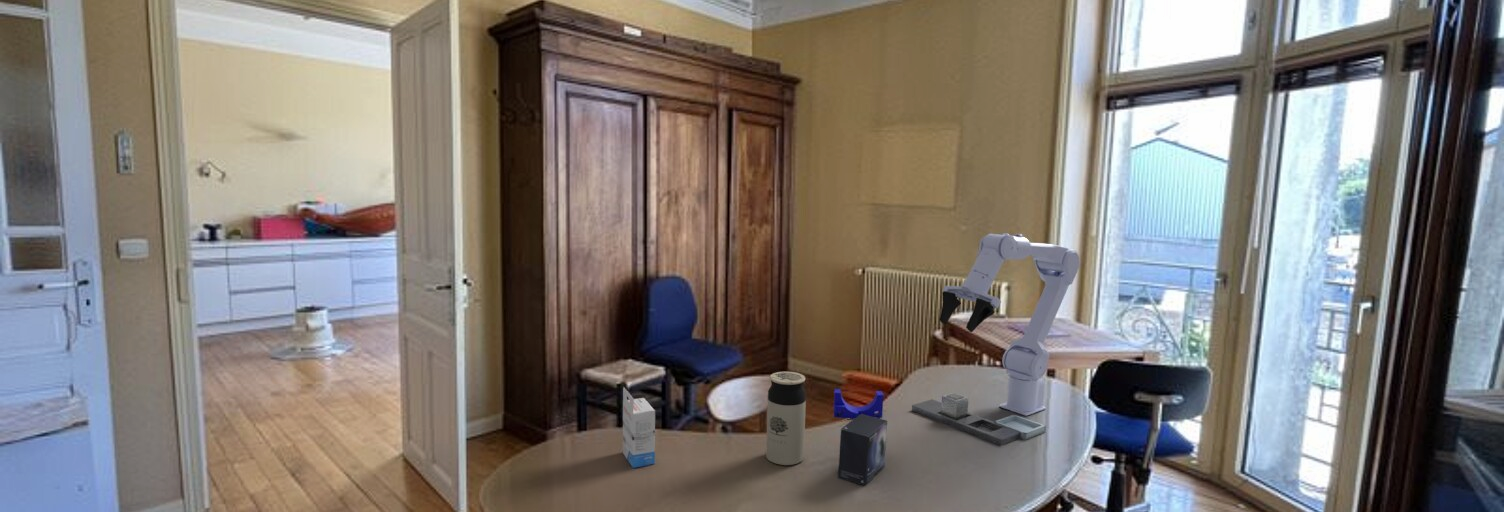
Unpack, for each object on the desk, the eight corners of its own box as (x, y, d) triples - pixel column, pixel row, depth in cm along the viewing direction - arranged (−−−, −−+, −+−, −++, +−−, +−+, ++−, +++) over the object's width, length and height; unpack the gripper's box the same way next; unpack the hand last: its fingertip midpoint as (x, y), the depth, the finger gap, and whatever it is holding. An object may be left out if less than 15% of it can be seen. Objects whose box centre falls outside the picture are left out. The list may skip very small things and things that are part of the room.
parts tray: (1013, 420, 166) (1013, 414, 166) (1045, 431, 160) (1045, 425, 159) (993, 427, 161) (993, 421, 161) (1025, 439, 155) (1026, 433, 154)
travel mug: (783, 447, 147) (786, 368, 145) (811, 458, 142) (814, 377, 139) (758, 457, 142) (760, 376, 139) (786, 470, 136) (788, 385, 134)
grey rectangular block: (951, 415, 169) (953, 391, 168) (966, 420, 166) (968, 396, 165) (940, 418, 167) (942, 395, 166) (955, 424, 163) (957, 400, 162)
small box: (867, 487, 130) (869, 436, 128) (836, 478, 133) (838, 428, 132) (886, 467, 139) (889, 419, 137) (857, 459, 142) (859, 412, 141)
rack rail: (931, 404, 176) (932, 399, 176) (1021, 437, 156) (1021, 432, 155) (911, 410, 172) (912, 405, 172) (1001, 445, 151) (1001, 439, 151)
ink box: (656, 464, 137) (656, 396, 135) (632, 468, 135) (632, 399, 133) (644, 448, 145) (644, 383, 143) (621, 452, 143) (621, 386, 141)
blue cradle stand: (834, 417, 166) (835, 394, 165) (833, 411, 170) (834, 388, 169) (882, 420, 165) (883, 397, 164) (880, 413, 169) (882, 391, 168)
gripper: (948, 263, 163) (922, 310, 160) (1000, 274, 151) (974, 325, 148) (961, 278, 167) (936, 324, 164) (1013, 290, 155) (987, 340, 152)
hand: (955, 326), depth 156 cm, fingers open, 7 cm apart
